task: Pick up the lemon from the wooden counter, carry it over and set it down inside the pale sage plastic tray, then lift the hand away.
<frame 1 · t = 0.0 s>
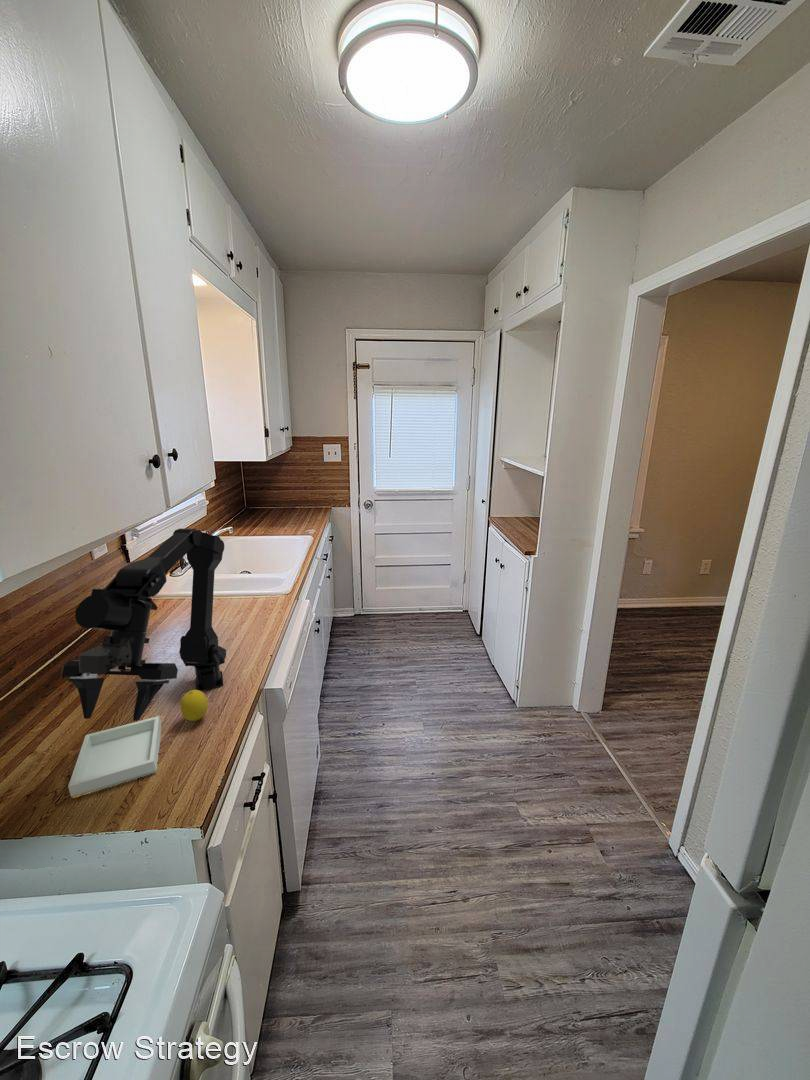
hand: (111, 719, 76), 15 cm above the worktop, tool tilted 35°, fingers open, 9 cm apart
tray: (121, 759, 86), on the worktop
lemon: (197, 720, 97), on the worktop
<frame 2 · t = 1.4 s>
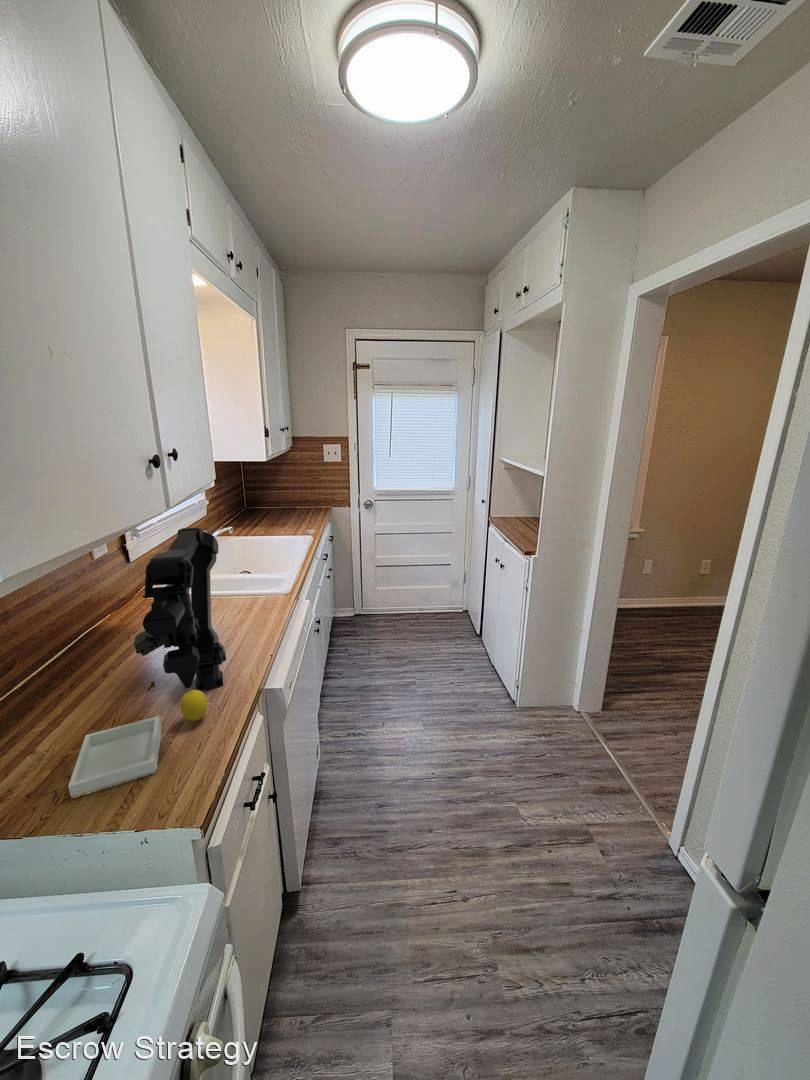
hand: (188, 676, 93), 12 cm above the worktop, tool pointing down, fingers open, 9 cm apart
nothing on the worktop moved.
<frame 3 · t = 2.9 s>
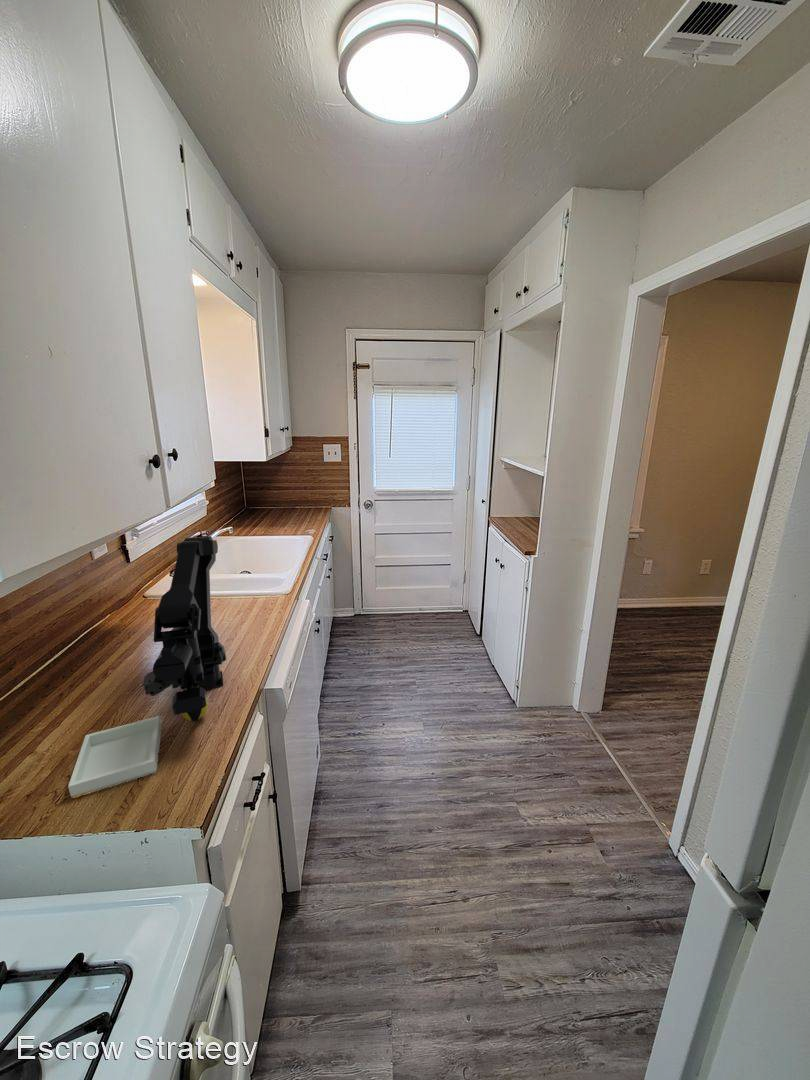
hand: (195, 712, 96), 2 cm above the worktop, tool pointing down, fingers closed on lemon, 5 cm apart
lemon: (197, 720, 97), on the worktop, touching gripper
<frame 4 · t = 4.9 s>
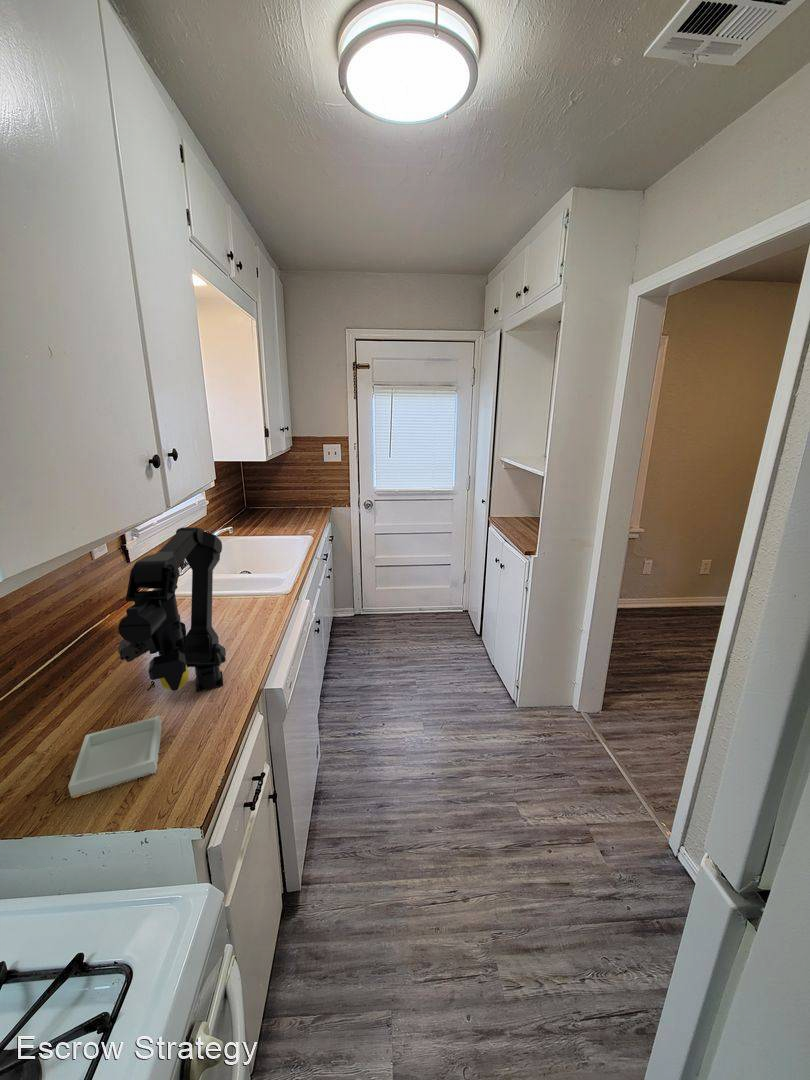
hand: (175, 682, 91), 12 cm above the worktop, tool pointing down, fingers closed on lemon, 5 cm apart
lemon: (177, 691, 92), point 10 cm above the worktop, touching gripper
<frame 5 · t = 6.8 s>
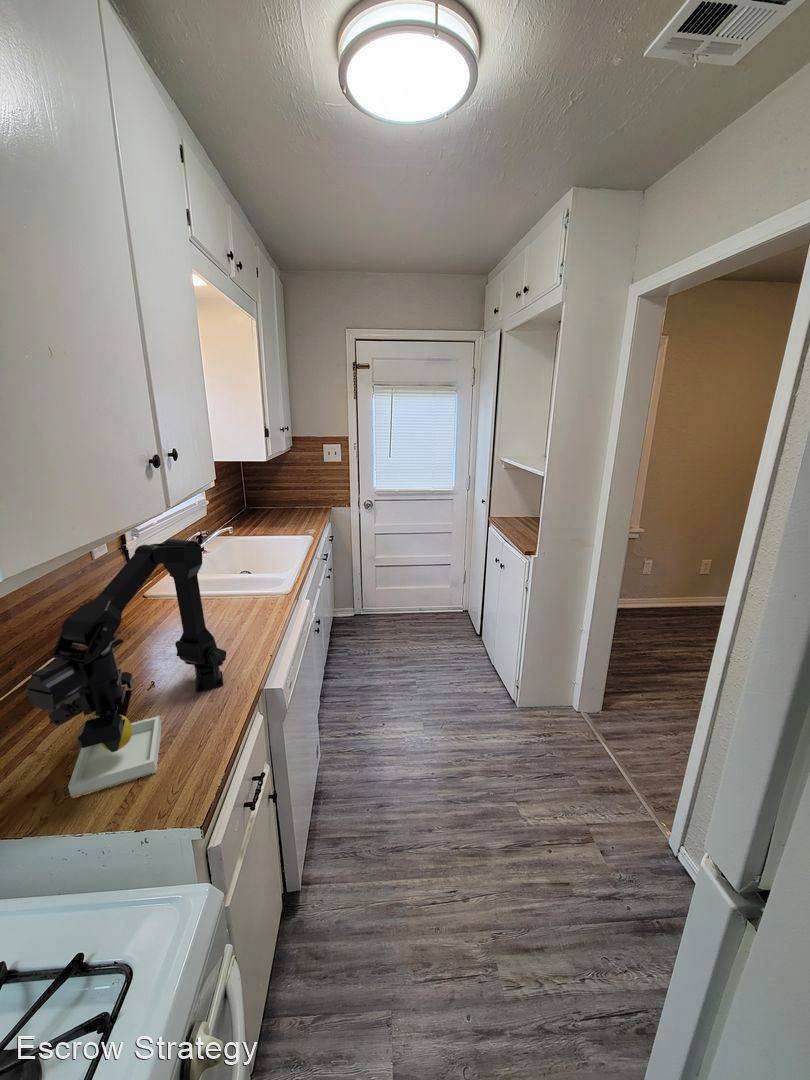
hand: (117, 740, 85), 5 cm above the worktop, tool pointing down, fingers closed on lemon, 5 cm apart
lemon: (119, 749, 86), point 2 cm above the worktop, touching gripper
when the fingers open (4 cm above the worktop, at t = 7.2 s): lemon drops 2 cm, resting on tray.
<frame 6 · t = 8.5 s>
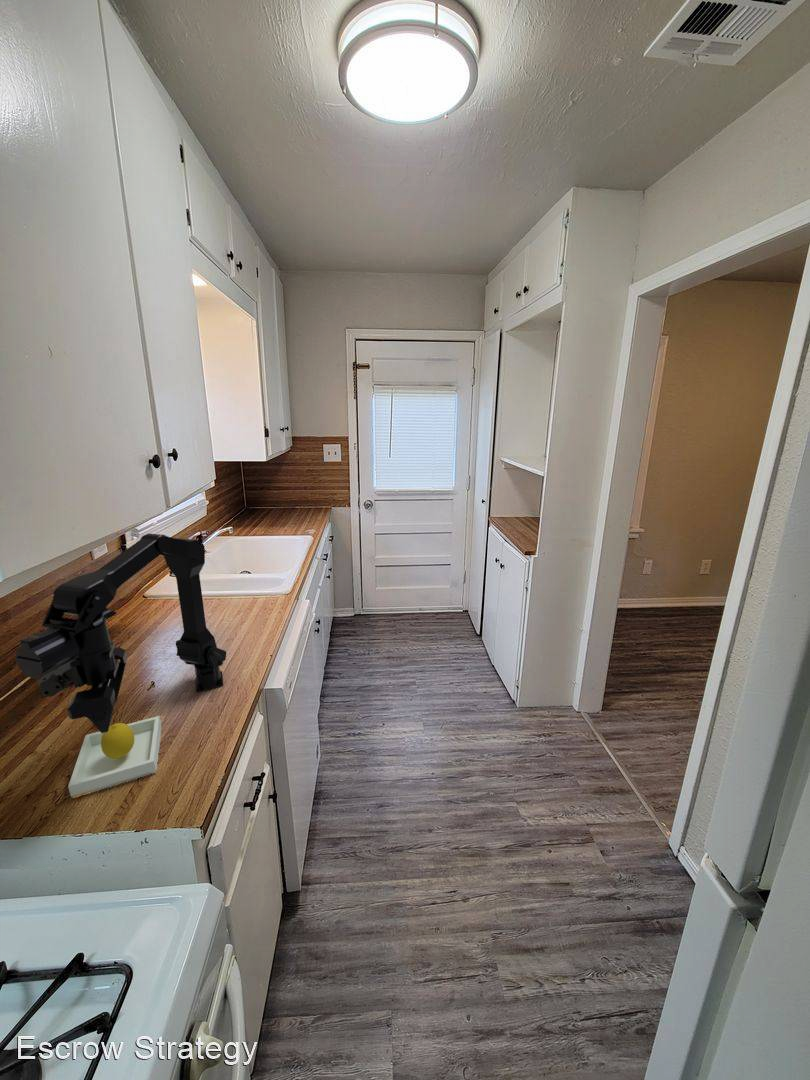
hand: (109, 716, 83), 11 cm above the worktop, tool pointing down, fingers open, 9 cm apart
lemon: (121, 757, 86), resting on tray
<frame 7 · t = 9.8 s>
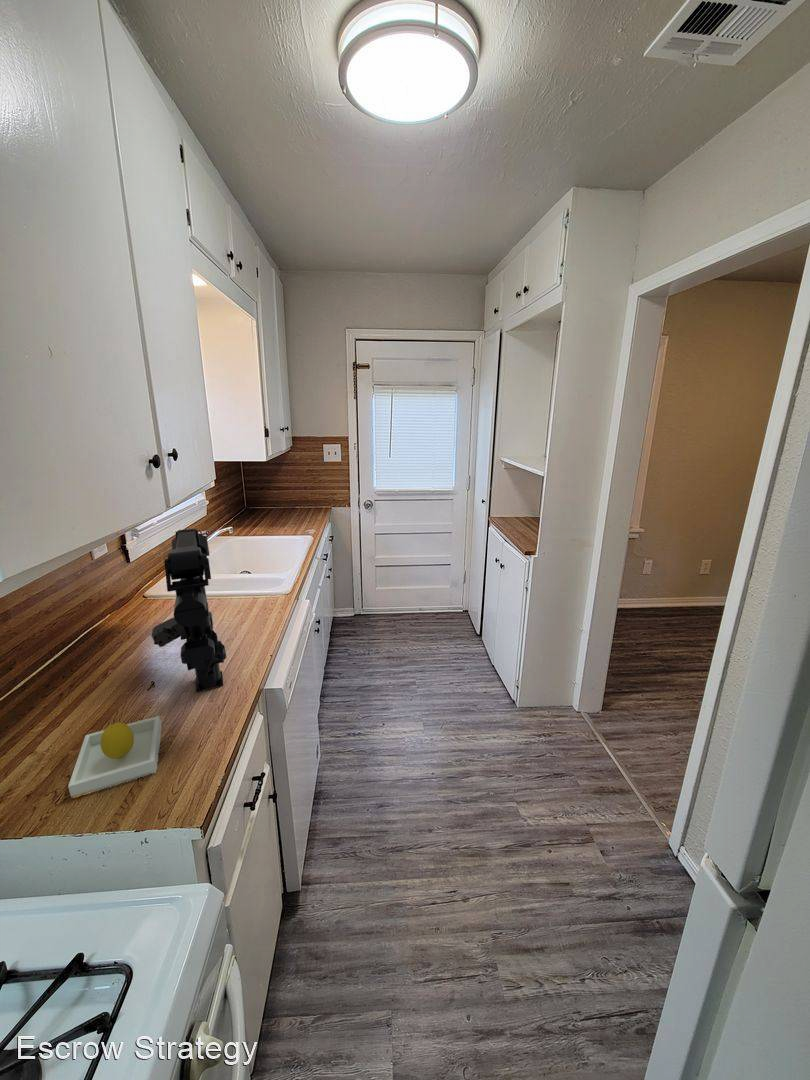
hand: (203, 667, 96), 12 cm above the worktop, tool pointing down, fingers open, 9 cm apart
nothing on the worktop moved.
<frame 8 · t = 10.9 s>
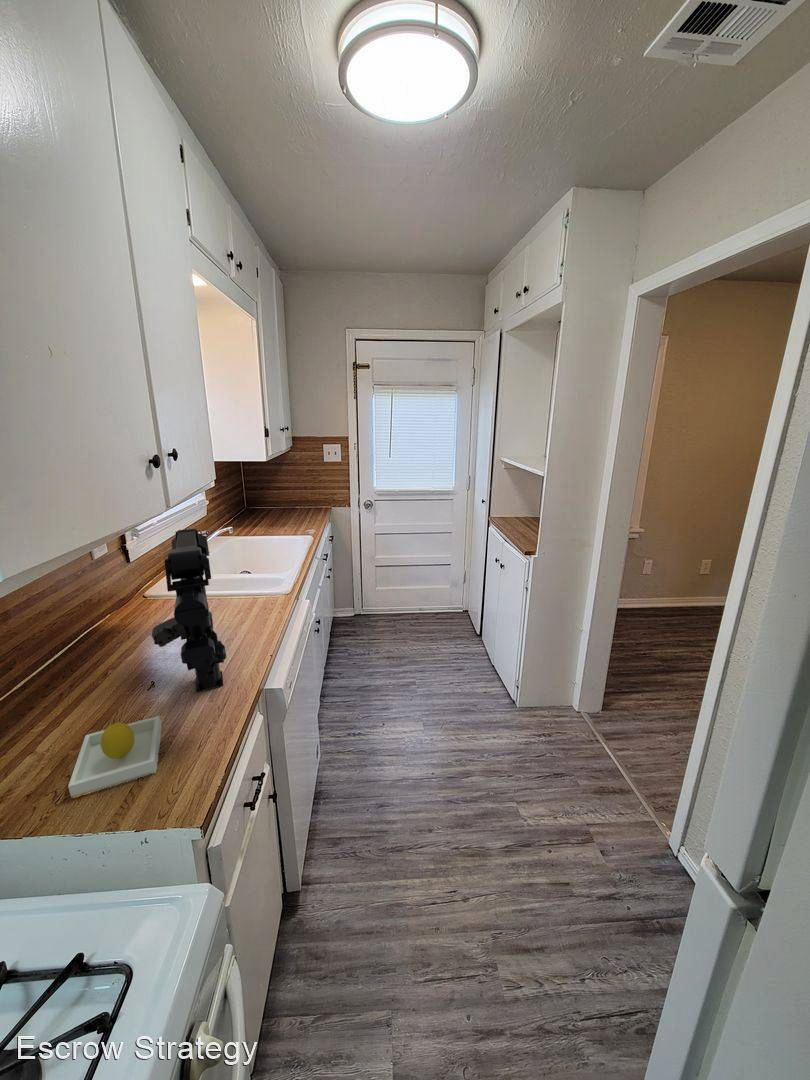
hand: (203, 667, 96), 12 cm above the worktop, tool pointing down, fingers open, 9 cm apart
nothing on the worktop moved.
at the end: lemon inside the target area on the tray (0.1 cm from its centre), point 0.4 cm above the tray's base; the gripper is holding nothing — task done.
